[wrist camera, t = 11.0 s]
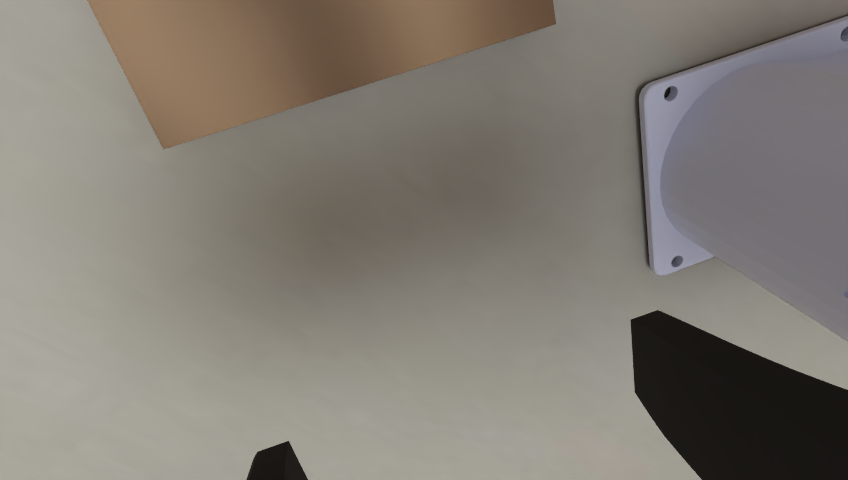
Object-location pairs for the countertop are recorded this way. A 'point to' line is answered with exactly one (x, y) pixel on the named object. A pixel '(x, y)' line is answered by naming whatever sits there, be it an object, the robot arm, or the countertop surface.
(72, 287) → the countertop surface
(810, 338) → the countertop surface
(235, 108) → the walnut pad
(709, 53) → the countertop surface
